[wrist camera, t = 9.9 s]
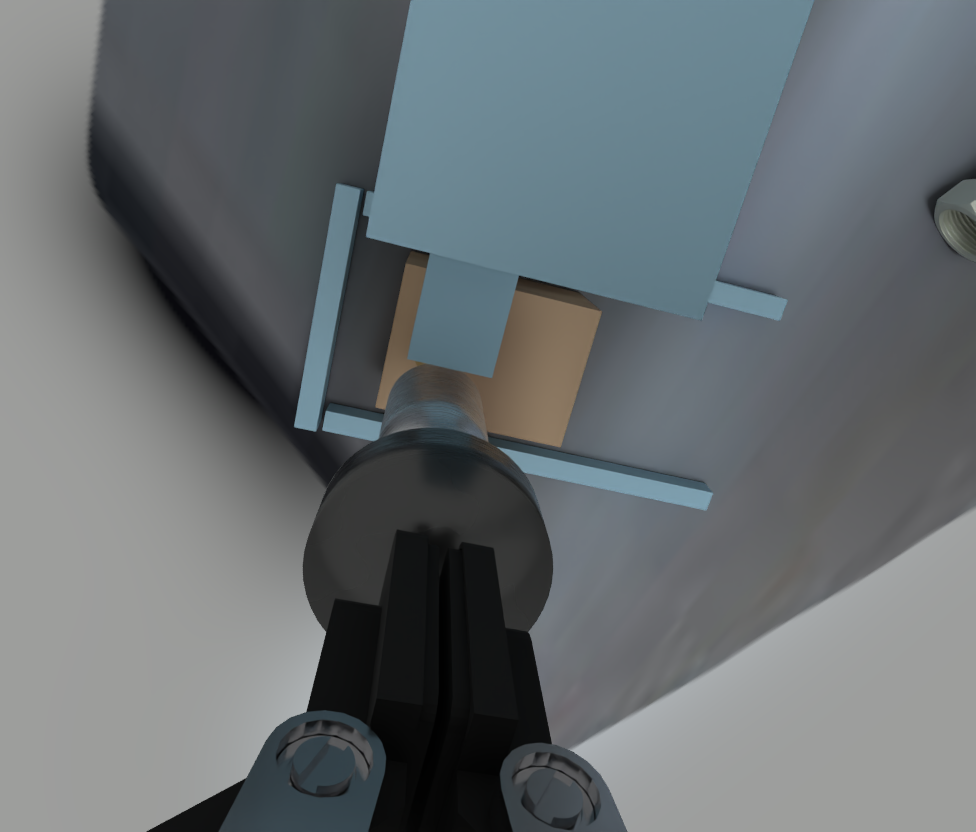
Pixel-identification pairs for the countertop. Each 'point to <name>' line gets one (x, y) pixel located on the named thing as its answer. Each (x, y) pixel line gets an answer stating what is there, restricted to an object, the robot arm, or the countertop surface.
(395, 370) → the housing
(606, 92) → the press
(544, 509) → the countertop surface
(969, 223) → the pipe fitting
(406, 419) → the ram
